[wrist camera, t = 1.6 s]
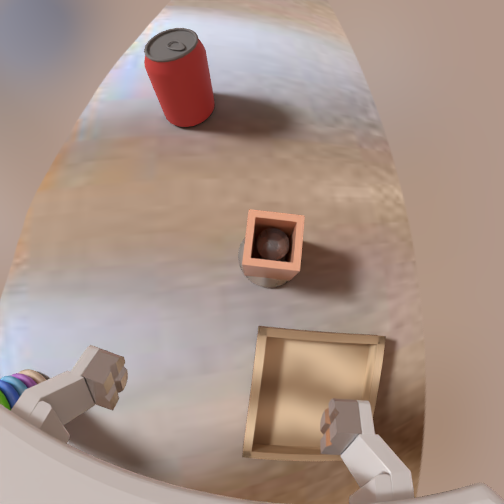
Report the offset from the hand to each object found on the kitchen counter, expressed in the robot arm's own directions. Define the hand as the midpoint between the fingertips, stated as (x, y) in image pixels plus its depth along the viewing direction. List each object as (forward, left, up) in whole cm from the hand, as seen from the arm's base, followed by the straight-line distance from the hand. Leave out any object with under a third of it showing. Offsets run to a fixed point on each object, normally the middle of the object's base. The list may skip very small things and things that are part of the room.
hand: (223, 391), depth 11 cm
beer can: (+27, +10, -20) cm, 35 cm away
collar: (+9, -2, -19) cm, 22 cm away
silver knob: (+9, -2, -20) cm, 22 cm away
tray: (-5, -8, -20) cm, 22 cm away
